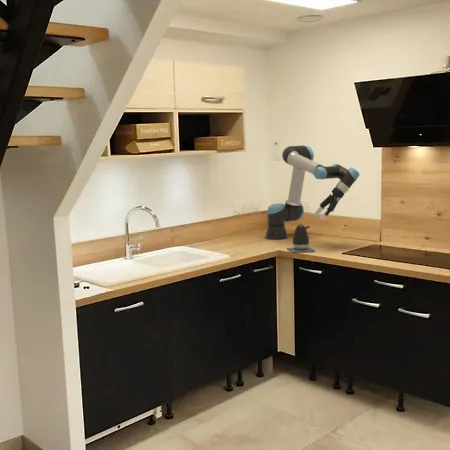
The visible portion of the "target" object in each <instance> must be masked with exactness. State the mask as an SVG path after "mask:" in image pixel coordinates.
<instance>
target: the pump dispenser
mask: <svg viewBox="0 0 450 450" xmlns="http://www.w3.org/2000/svg"><path fill="white" fill-rule="evenodd" d="M309 228H310V225H307V226H305V225H303V224H298V225H297V226H296V227H295V229H294V232H293V235H292V236H293V237H292V241H291V242H292V245H293V247H294V248H296V249H298V250H304V249H306V248H307V247H309V244H310V237H309V232H308V230H307V229H309Z"/></svg>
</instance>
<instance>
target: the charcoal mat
mask: <svg viewBox="0 0 450 450" xmlns="http://www.w3.org/2000/svg"><path fill="white" fill-rule="evenodd" d="M286 250H287V251H289V252H290V253H291V254H300V253H301V254H303V253H304V254H305V253H315V252H316V250H315V249H314V248H312V247H310V246H308V247H307V248H306V249H304V250H298V249H296V248H294V246H293V247H287V249H286Z"/></svg>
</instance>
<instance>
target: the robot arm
mask: <svg viewBox="0 0 450 450" xmlns="http://www.w3.org/2000/svg"><path fill="white" fill-rule="evenodd" d="M314 156H315V155H314V151H313V149H312V148H311V147H310V146H309V145H290V146H286V147H285V148H284V149H283V151H282V153H281V157H282V160H283V161H284V163H286V164H288V165H290V166H292V172H291V179H290V185H289V190H288V198H287V199H286V200H285V203H282V202H281V203H280V202H279V203H273V204H270V205H268V207H267V230H266V232H265V239H268V240H283V239H287V238H288V232H287V228H286V227H285V225H286V224H285V223H287V222H296V221H300V220H301V219H302V218H303V217H304V215H305V209H304V206H303V202H302V201H301V198H302V192H303V188H304V181H305V174H306V172H308V173H310V174H311V175H313V177H314V178H315V179H316V180H326V179H339V181H338V182H337V183H336V184H335V187H334V188H333V189H332V190H331V193H332V194H328V196H327V197H326V198H325V199H323V200H322V202H320V203H319V207H318V208H317V210H316V211H315V212H314V213H313V215H314V216H315V217H317V218H318V217H319V215H320V214H322V215H321V216H320V219H321V220H322V221H323V222H324V221H325V219H327V217H328V216H329V215H330V213H331V212H332V213H333V212H334V211H335V208H336V207H337V206H338V203H339V202H340V200H341V199H343V197H344V196H345V194H346V193H347V192H349V190H350V188H351V187H352V186H353V184H354V183H355V182H357V180H358V179H359V177H360V173H359V171H358V170H357V169H355V168H354V167H349V168H348V169H347V168H346V167H344V166H342V165H341V164H338V163H333V164H332V165H330V166H325V165H322V164H321V163H318V162H316V161H314V158H315V157H314ZM327 206H328V207H327ZM326 207H327V208H326ZM325 208H326V210H325ZM323 210H325V211H324V212H323ZM322 212H323V213H322Z"/></svg>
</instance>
